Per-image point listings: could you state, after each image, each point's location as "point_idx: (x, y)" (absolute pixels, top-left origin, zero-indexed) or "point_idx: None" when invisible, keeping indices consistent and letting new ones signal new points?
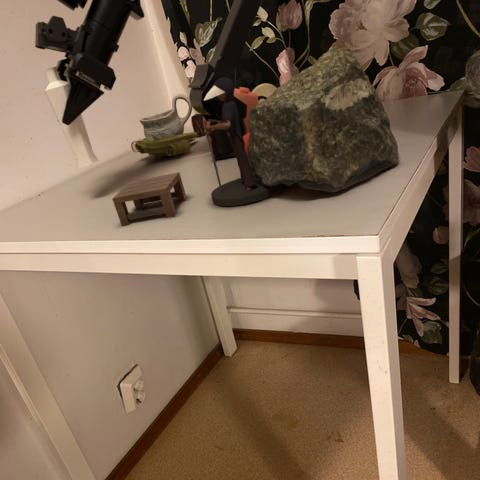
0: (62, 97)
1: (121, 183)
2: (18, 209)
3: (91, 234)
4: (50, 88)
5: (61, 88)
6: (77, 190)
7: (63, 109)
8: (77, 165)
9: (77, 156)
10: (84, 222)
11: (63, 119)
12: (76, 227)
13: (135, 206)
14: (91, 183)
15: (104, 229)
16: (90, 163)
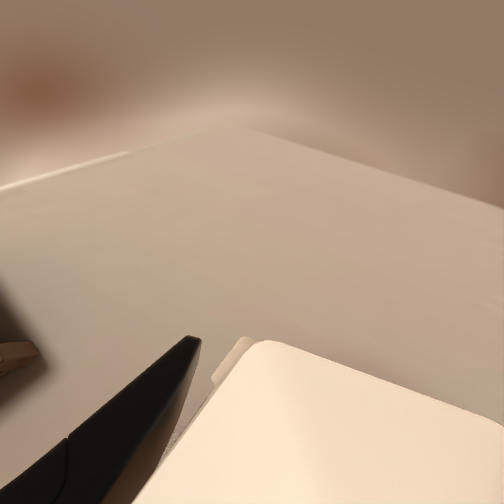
0: (163, 459)
1: None
2: (478, 232)
3: (20, 212)
4: (211, 416)
5: None
6: (452, 391)
7: (205, 401)
8: (257, 342)
9: (241, 350)
10: (116, 245)
11: (175, 345)
12: (107, 221)
13: (24, 341)
14: None
15: (10, 238)
16: (213, 374)
